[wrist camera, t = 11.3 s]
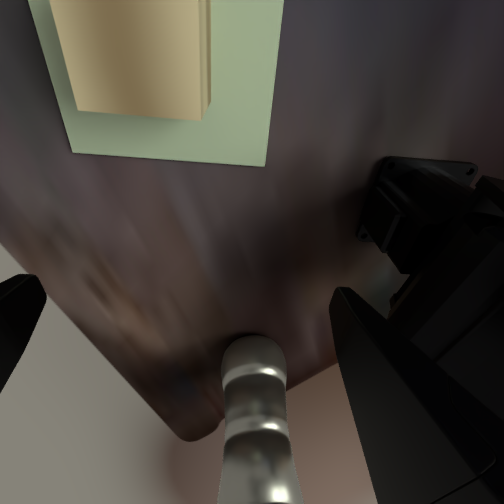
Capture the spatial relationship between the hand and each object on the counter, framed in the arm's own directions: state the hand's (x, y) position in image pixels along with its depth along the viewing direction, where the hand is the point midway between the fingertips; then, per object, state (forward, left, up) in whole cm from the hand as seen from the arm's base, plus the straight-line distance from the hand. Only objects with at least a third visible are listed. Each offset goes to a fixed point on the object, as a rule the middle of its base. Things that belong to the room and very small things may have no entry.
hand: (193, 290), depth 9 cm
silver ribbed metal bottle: (-4, +20, -12) cm, 24 cm away
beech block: (+3, -6, -12) cm, 13 cm away
